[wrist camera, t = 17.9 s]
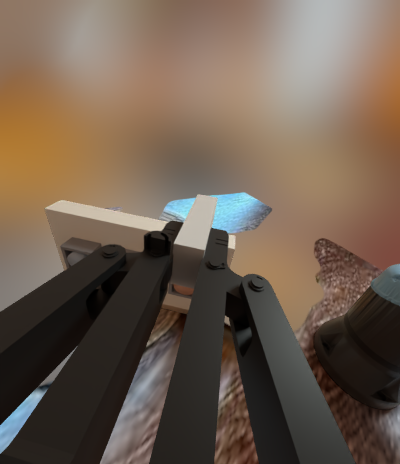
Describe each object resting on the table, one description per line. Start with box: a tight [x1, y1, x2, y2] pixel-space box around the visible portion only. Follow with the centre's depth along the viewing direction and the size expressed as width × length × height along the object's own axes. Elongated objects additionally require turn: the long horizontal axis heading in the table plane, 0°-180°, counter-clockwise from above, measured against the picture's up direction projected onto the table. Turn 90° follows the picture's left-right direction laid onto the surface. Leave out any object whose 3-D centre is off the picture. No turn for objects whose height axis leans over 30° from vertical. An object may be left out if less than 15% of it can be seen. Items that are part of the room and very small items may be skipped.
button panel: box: [45, 200, 235, 314], centre depth 41 cm, size 11×34×20 cm, turn 80°
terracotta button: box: [174, 284, 194, 295], centre depth 35 cm, size 2×4×4 cm, turn 81°
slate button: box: [67, 252, 88, 266], centre depth 36 cm, size 2×4×4 cm, turn 80°
